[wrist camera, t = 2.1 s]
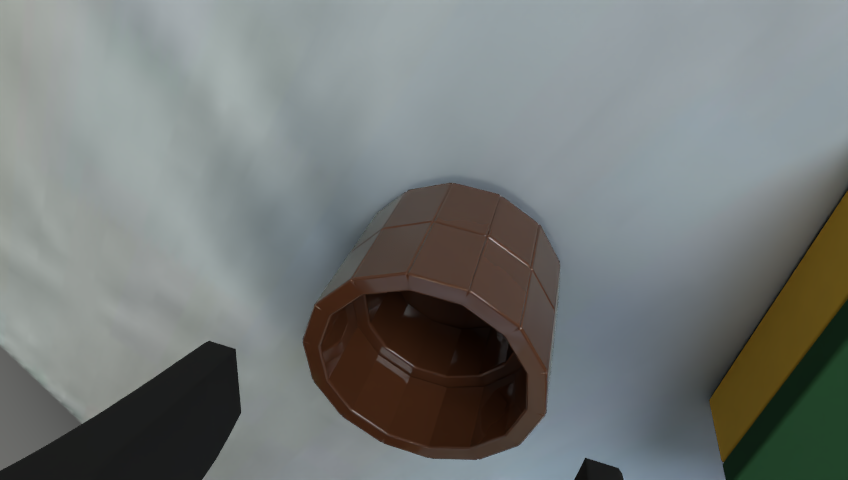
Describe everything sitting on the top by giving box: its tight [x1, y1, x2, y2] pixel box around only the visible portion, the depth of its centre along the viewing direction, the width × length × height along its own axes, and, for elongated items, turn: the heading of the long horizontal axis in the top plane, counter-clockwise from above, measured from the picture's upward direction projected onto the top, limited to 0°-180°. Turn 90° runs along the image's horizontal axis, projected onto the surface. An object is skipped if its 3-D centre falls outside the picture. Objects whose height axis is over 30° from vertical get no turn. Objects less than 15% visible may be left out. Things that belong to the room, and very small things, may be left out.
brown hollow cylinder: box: [303, 183, 560, 460], centre depth 14 cm, size 6×6×5 cm
